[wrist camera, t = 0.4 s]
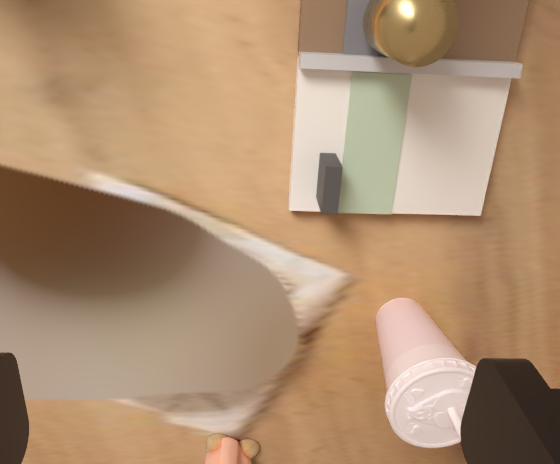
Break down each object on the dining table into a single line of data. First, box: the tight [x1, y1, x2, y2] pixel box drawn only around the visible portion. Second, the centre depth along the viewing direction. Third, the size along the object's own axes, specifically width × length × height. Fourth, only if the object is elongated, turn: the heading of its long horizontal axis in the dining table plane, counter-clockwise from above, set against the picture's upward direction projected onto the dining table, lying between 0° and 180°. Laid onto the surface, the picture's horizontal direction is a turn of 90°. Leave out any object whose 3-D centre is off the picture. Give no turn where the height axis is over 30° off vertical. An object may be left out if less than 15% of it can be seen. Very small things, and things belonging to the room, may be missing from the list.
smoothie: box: [375, 298, 476, 448], centre depth 34 cm, size 6×6×14 cm
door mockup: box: [288, 0, 529, 216], centre depth 30 cm, size 24×13×4 cm, turn 177°
